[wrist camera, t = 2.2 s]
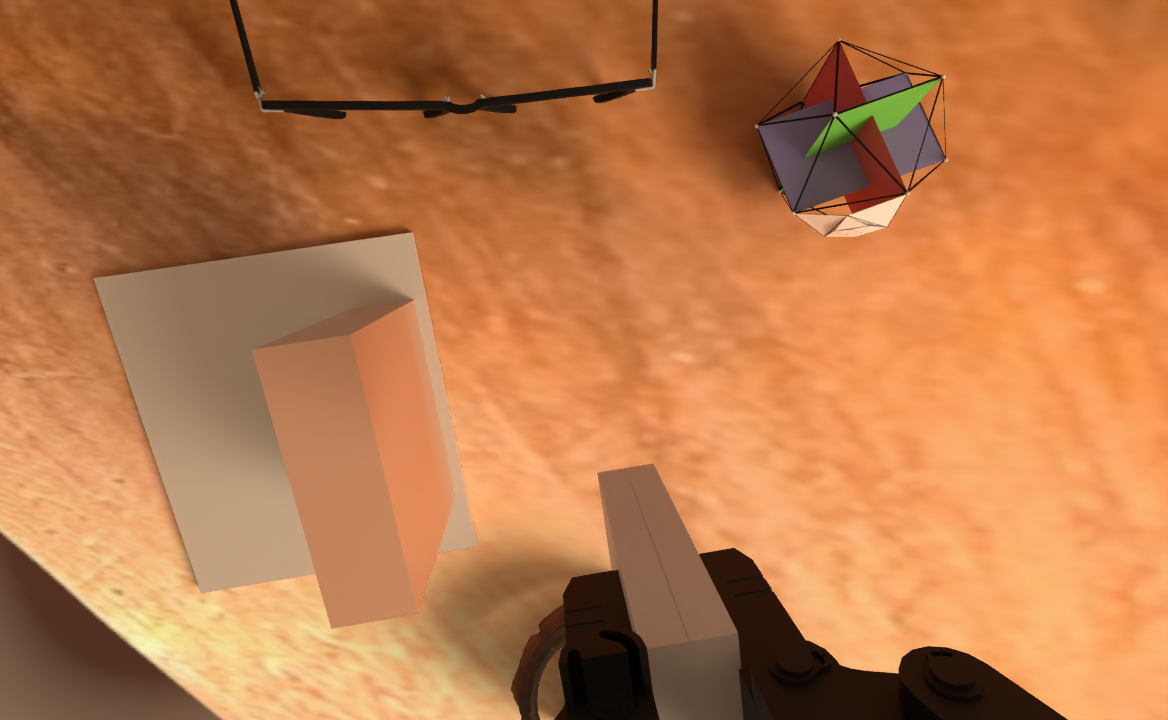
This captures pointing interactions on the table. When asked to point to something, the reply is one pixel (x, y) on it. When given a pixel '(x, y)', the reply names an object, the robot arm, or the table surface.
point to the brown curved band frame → (537, 662)
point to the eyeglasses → (445, 106)
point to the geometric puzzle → (852, 146)
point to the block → (362, 456)
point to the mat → (250, 390)
